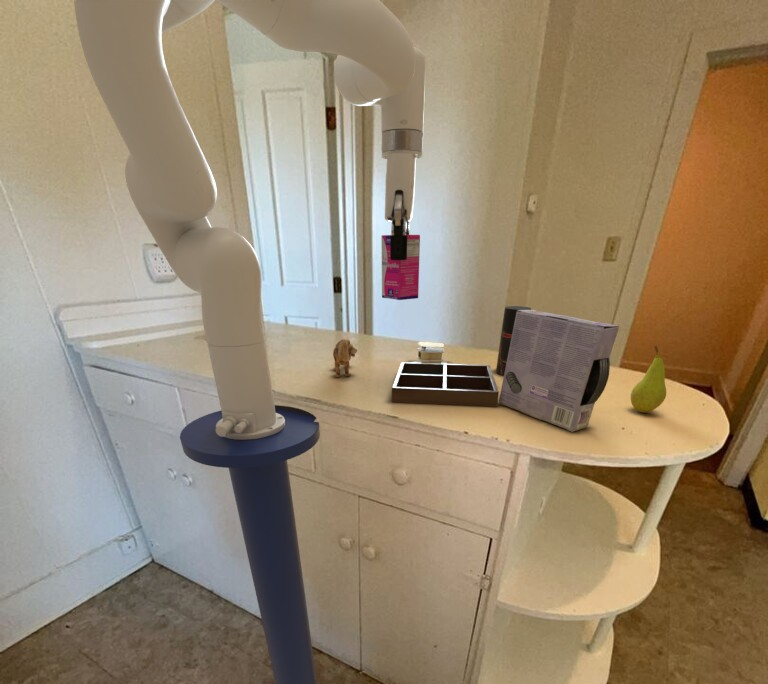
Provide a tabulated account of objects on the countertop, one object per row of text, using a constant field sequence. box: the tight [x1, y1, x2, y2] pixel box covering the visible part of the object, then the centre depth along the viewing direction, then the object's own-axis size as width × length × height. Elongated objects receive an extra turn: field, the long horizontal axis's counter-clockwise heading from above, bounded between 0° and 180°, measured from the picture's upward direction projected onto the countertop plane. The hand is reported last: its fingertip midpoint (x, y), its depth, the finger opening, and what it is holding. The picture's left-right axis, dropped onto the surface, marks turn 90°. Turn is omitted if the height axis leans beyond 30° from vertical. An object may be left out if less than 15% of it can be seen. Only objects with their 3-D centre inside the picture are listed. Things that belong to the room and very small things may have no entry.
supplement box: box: [380, 234, 421, 301], centre depth 88 cm, size 6×6×12 cm
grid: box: [391, 361, 500, 408], centre depth 95 cm, size 21×21×3 cm
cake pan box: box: [498, 309, 620, 433], centre depth 77 cm, size 19×5×18 cm, turn 33°
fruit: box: [630, 345, 667, 414], centre depth 80 cm, size 6×6×12 cm
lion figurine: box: [332, 338, 358, 378], centre depth 105 cm, size 15×5×9 cm, turn 15°
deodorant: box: [495, 305, 532, 376], centre depth 104 cm, size 6×6×15 cm
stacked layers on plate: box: [410, 341, 449, 364], centre depth 112 cm, size 10×9×6 cm
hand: (400, 258), depth 87 cm, fingers closed on supplement box, 8 cm apart
